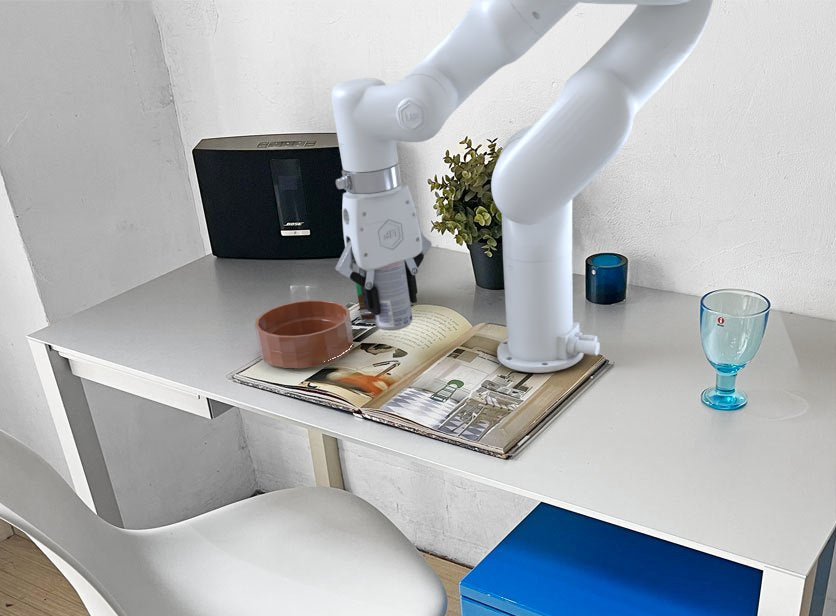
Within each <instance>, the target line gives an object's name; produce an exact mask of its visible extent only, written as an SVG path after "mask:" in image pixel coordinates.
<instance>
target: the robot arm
mask: <svg viewBox="0 0 836 616" xmlns="http://www.w3.org/2000/svg"><path fill="white" fill-rule="evenodd" d="M579 3H582V4H595V5H636V6H635V8H634V9H633V11H632V13H630V15H628V17H627V18H626V19H625V20H624V21H623V23H622V24H621V25H620V26H619V27H618V28H617V29H616V31H615V32H614V33H613V35H612V36H610V38H609V39H608V40H606V42H605V43H604V44H603V45H601V47H600V48H599V49H598V50H597V51H596V52H595V53H594V54H593V55H592V57H590V58H589V59H588V61H586V62H585V63H584V64H583V65H582V66H581V67H580V68H579V69H578V70H577V71H575V72H574V73H573V74H572V75H571V76H570V77H569V78H568V79H567V80H566V81H565V83H564V84H563V86H562V87H561V90H560V91H559V95H558V97H557V99H556V100H555V101H554V103H553V104H552V105H550V106H549V108H548V109H547V110H546V111H545V112H544V113H543V114H542V116H540V117H539V119H538V120H537V121H536V122H535V123H534V124H533V125H530V126H526V127H523V128H521V129H520V130H517V132H515V133H514V134H512V135H511V136H510V137H509V138H508V140H507V141H506V142H505V144H504V145H503V147H502V149H501V151H500V153H499V156H498V158H497V160H496V163H495V166H494V169H493V172H492V175H491V181H490V188H491V189H490V190H491V196H492V199H493V202H494V204H495V207H496V208H497V210H498V211H499V212H500V214H501V236H502V237H501V238H502V240H501V241H502V265H503V266H502V267H503V283H504V285H503V287H504V305H505V325H506V327H505V328H506V338H505V339H504V340H502V341H501V342H500V343H499V344H498V346H497V349H496V356H497V360H498V361H499V362H500V363H501V364H502V365H503V366H504V367H507V368H508V369H511V370H514V371H517V372H523V373H532V374H533V373H535V374H540V373H543V374H544V373H552V372H558V371H562V370H565V369H568V368H570V367H572V366H574V365H576V364H577V363H578V362H580V361H581V360H582V359H583V358H584V355H588V356H589V355H590V356H595V357H596V356H598V355H599V353H600V350H601V344H600V341H598V336H597V335H593V334H583V332H581V331H580V322H576V321H574V315H573V314H574V306H573V305H574V301H573V300H574V299H573V296H574V294H573V291H574V289H573V199H574V198H575V197H576V196H577V195H578V194H579V193H580V192H581V191H582V190H583V189H584V188H585V187H586V186H588V184H589V183H591V181H592V180H594V179H595V177H596V176H597V175H598V174H599V173H600V172H601V171H603V170H604V168H605V167H607V165H609V164H610V162H611V161H612V160H613V159H615V157H616V156H617V155H618V154H619V152H620V151H621V150H622V149H623V148H624V146H625V144H626V143H627V141H628V139H629V138H630V135H631V133H632V130H633V127H634V126H633V125H634V120H635V116H636V114H637V113H638V112H639V111H640V109H642V108H643V106H644V105H645V104H646V103H647V102H648V101H649V100H650V99H651V98H652V97H653V96H654V95H655V94H656V93H657V92H658V91H659V90H660V89H661V88H662V86H663V85H665V83H666V82H667V80H669V78H670V77H672V75H673V74H674V73H675V72H676V71H677V70H678V69H679V68H680V67H681V65H683V63H684V62H685V61H686V59H687V58H689V56H690V55H691V53H692V52H693V50H694V49H695V47H697V44H698V43H699V41H700V39H701V37H702V35H703V33H704V30H705V29H706V27H707V24H708V21H709V19H710V15H711V12H712V9H713V8H712V7H713V4H714V0H474V1H473V2H472V3H471V4H470V6H469V8H468V9H467V11H466V12H465V14H464V16H463V17H462V18H461V20H460V21H459V22H458V23H457V24H456V25H455V27H454V28H452V29H451V31H450V32H449V33H448V34H446V36H445V37H444V38H443V39H442V40H441V41H440V42H439V43H438V44H437V45H436V46H435V47H434V48H433V49H432V50H431V51H430V52H429V53H428V54H427V55H426V56H425V57H424V58H423V59H422V60H421V61H420V62H419V63H418V64H417V65H416V66H415V67H413V69H412V70H411V71H410V72H409V73H407V74H406V75H405V76H404V77H403V78H402V79H401V80H399V81H397V82H394V83H390V84H386V83H385V82H384V81H383V80H381V79H378V78H374V77H373V78H371V77H367V78H366V77H365V78H364V77H363V78H356V79H350V80H345V81H342V82H340V83H338V84H335V86H333V88H332V91H331V95H330V99H331V100H330V101H331V106H332V111H333V112H332V113H333V119H334V124H335V132H336V137H337V142H338V149H339V153H340V154H339V155H340V159H341V166H342V170H341V175H342V176H340V178H337V179H335V185H336V188H337V189H338V190H345V191H346V192H343V193H342V205H341V206H342V209H341V212H342V213H341V215H342V232H343V240H344V249H343V252H342V253H341V255H340V257H339V260H338V261H337V263H336V266H335V268H334V269H335V270H334V271H335V272H336V273H338V274H340V275H342V276H344V277H346V278H348V279H349V280H351V281H352V282H354V283H355V284H356V283H357V284H358V285H360V286H361V292H362V298H363V304H364V307H365V308H366V309H367V310H368V311H369V312H371V313H373V314H375V315H379V314H380V313H381V310H380V303H379V297H378V291H377V288H375V287H373V280H374V273H375V269H378V268H382V267H385V266H388V265H390V264H392V263H395V262H401V261H404V262H405V269H406V276H407V283H408V290H409V297H410V304H411V303H412V304H415V303H417V302H418V298H417V294H418V286H417V279H416V275H417V274H418V273H419V267H420V266H421V264H422V262H423V260H424V258H425V255H426V254H427V253H428V251H429V250H430V249H431V247H432V245H433V244H432V241H431V240H430V239H429V238H428V237H426V236H425V235H424V234H423V233H422V232H421V229H420V228H421V227H420V224H419V217H418V213H417V210H416V206H415V203H414V200H413V197H412V193H411V190H410V187H409V185H408V184H407V183H406V182H403V181H402V178H401V177H402V176H401V169H400V162H399V155H398V147H397V142H403V143H404V142H406V143H422V142H426V141H429V140H430V139H433V138H435V136H436V135H437V134H438V133H439V132H440V131H441V129H443V127H444V125H445V123H446V121H447V120H448V119H449V118H450V117H451V115H452V114H453V113H454V112H455V111H456V110H457V109H458V108H460V107H461V105H462V104H463V103H464V102H465V101H466V100H468V98H469V97H471V95H472V94H474V93H475V92H476V91H477V90H478V89H479V88H480V87H481V86H482V85H483V84H484V83H485V82H486V81H488V80H489V79H490V78H491V77H492V76H493V75H494V74H496V73H497V72H498V71H499V70H500V69H502V68H504V67H506V66H507V65H510V64H513V63H514V62H516V61H518V60H519V59H520V58H522V57H523V56H524V55H525V54H526V53H528V51H530V49H532V48H533V47H534V46H535V44H537V43H538V42H539V41H540V40H541V39H542V38H543V37H544V36H545V35H546V34H547V33H549V31H550V30H551V29H552V28H553V27H554V26H555V25H557V23H559V22H560V21H561V20H562V19H563V18H564V17H565V16H566V15H567V14H568V13H570V11H571V10H572V9H573V8H575V7H576V6H577V5H578V4H579ZM353 264H357V265H358V270H357V272H355V271H353V269H352V268H351V265H353Z"/></svg>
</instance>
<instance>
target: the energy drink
mask: <svg viewBox="0 0 836 616" xmlns="http://www.w3.org/2000/svg"><path fill="white" fill-rule="evenodd" d="M373 287H375V288H377V291H378V297H379V303H380V310H381V313H380V314H379V315H375V317H374V321H375V325H376V327H377V328H379V329H380V330H383V331H398V330H399V331H400V330H402V329H405V328H407V327H409V326H410V325H411V324H412V322H413V313H412V312H413V311H412V305H411V302H410V297H409V290H408V283H407V276H406V269H405V262H404V261H401V262H395V263H392V264H390V265H388V266H385V267H382V268H378V269H375V273H374V280H373Z"/></svg>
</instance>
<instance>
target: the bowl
mask: <svg viewBox="0 0 836 616" xmlns="http://www.w3.org/2000/svg"><path fill="white" fill-rule="evenodd" d="M351 317H352V316H351V311H350V309H349V308H348V307H347V306H346V305H345V304H343V303H339V302H337V301H331V300H326V299H306V300H297V301H292V302H288V303H283V304H280V305H278V306H275V307H271V308H269V309H268V310H266V311H264V312H263V313H261V314H259V316H258V317H257V318H255V322H254V329H255V335H256V339H257V344H258V350H259V354H260V357H261V358H262V360H263V361H264V362H265V363H267V364H269V365H271V366H273V367H278V368H284V369H304V368H305V369H306V368H314V367H318V366H322V365H326V364H330V363H332V362H335V361H337V360H339V359H342V358H343V357H345V356H346V355H348V354H349V353H351V352H352V350H353V348H354V347H355V343H354V344H353V339H354V333H353V325H352V319H351ZM354 340H355V339H354ZM352 344H353V345H352ZM351 345H352V347H351V348H350V346H351ZM349 348H350V350H348V349H349ZM346 350H348V351H347V352H345V351H346ZM343 352H345V353H344V354H342V353H343ZM341 354H342V355H341ZM339 355H341V356H339ZM337 356H339V357H337ZM334 357H336V358H334ZM332 358H334V359H332ZM330 359H331V360H330ZM328 360H329V361H328ZM324 361H325V362H324Z"/></svg>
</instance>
